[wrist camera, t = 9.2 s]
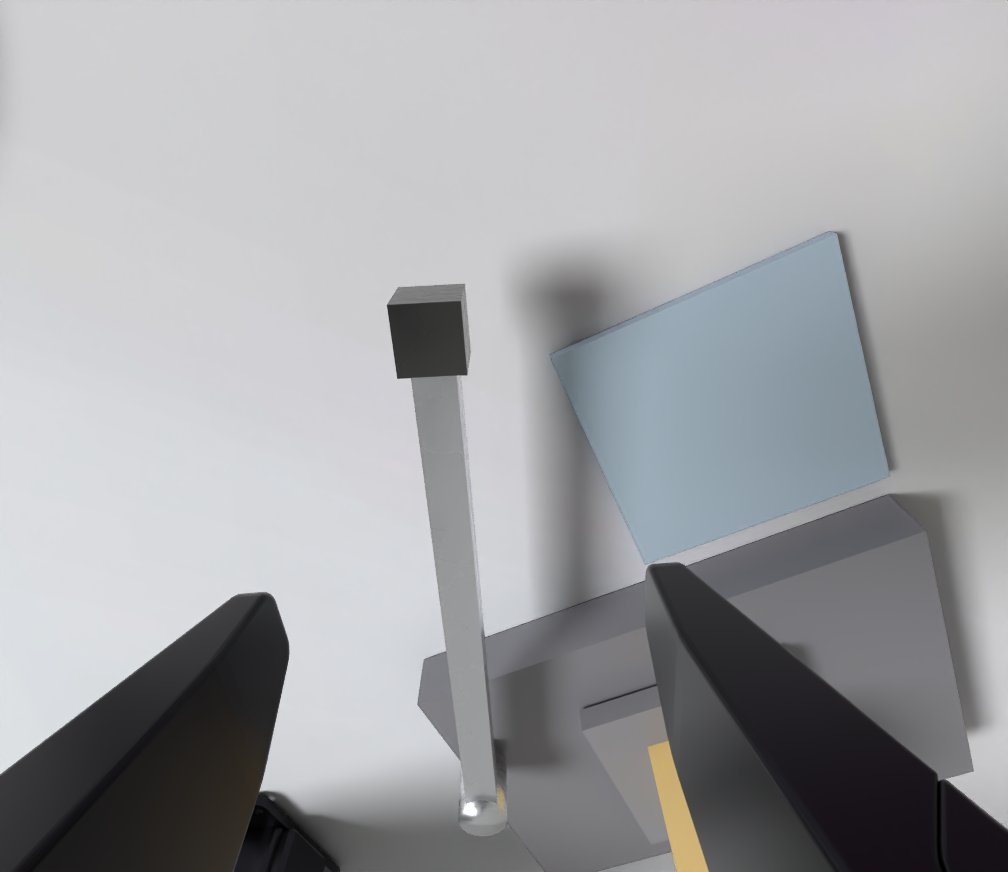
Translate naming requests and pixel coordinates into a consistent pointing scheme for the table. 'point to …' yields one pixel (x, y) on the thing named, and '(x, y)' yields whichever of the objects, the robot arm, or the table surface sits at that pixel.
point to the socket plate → (629, 669)
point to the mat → (730, 402)
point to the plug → (645, 771)
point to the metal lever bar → (452, 530)
